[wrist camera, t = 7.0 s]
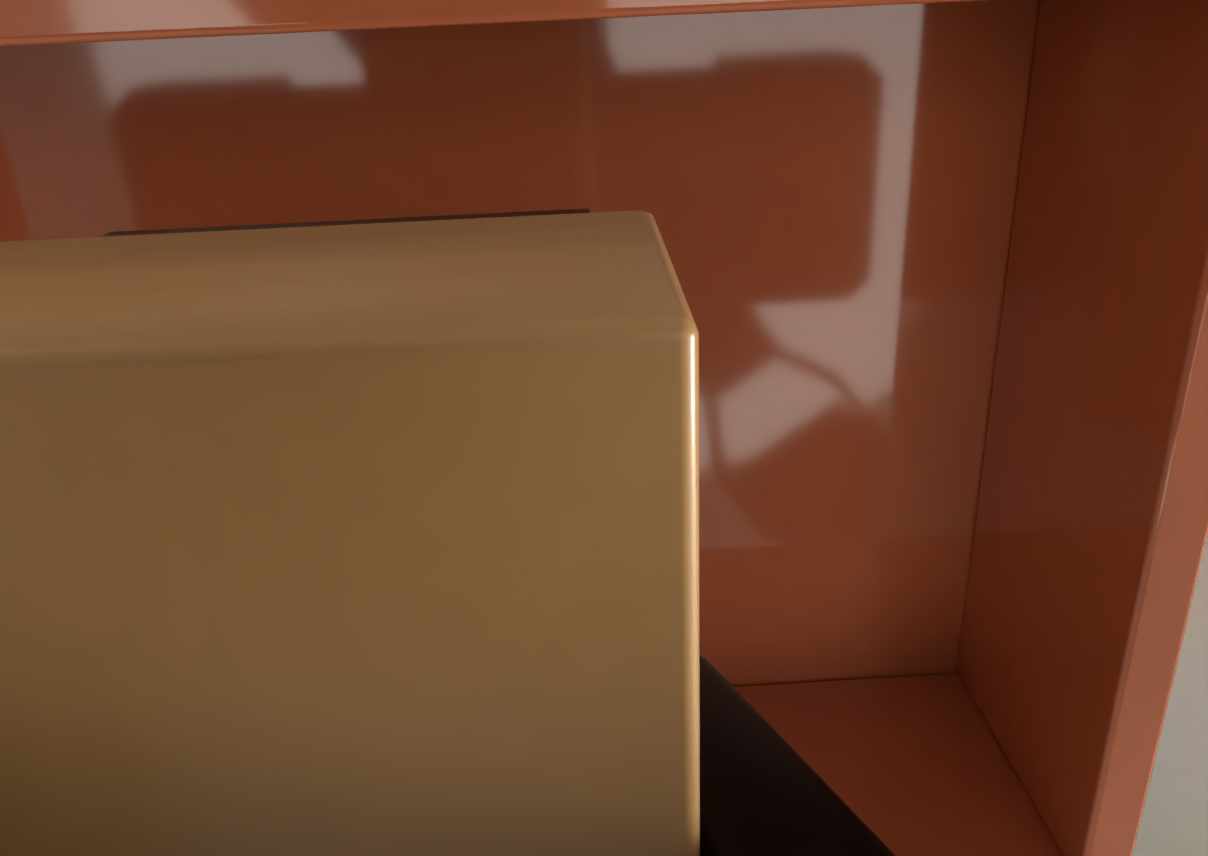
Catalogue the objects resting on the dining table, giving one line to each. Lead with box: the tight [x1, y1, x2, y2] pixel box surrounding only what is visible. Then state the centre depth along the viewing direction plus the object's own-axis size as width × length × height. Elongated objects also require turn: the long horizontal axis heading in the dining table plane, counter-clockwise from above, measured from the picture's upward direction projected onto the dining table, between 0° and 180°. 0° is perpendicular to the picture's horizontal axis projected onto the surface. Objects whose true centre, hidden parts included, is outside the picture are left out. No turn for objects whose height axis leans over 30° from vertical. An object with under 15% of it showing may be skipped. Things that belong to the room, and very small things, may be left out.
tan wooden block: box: [0, 209, 700, 856], centre depth 7 cm, size 8×4×4 cm, turn 2°
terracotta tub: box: [0, 0, 1208, 856], centre depth 12 cm, size 11×15×4 cm
